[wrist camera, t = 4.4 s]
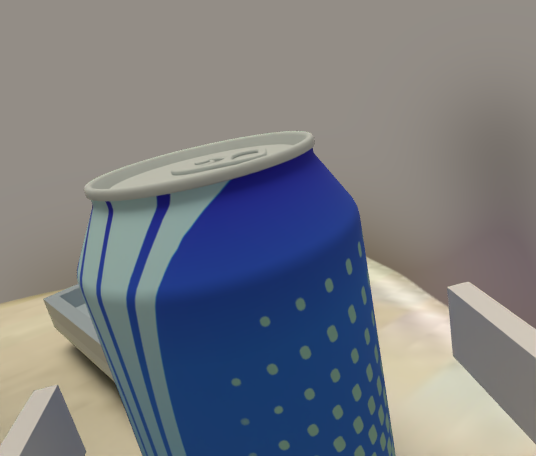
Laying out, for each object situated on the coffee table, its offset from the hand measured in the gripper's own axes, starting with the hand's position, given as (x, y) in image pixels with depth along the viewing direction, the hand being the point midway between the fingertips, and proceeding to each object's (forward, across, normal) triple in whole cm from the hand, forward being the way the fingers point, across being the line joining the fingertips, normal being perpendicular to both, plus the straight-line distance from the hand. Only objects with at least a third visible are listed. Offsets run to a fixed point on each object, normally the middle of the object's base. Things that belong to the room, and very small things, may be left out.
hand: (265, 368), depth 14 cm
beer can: (0, 0, -9) cm, 9 cm away
